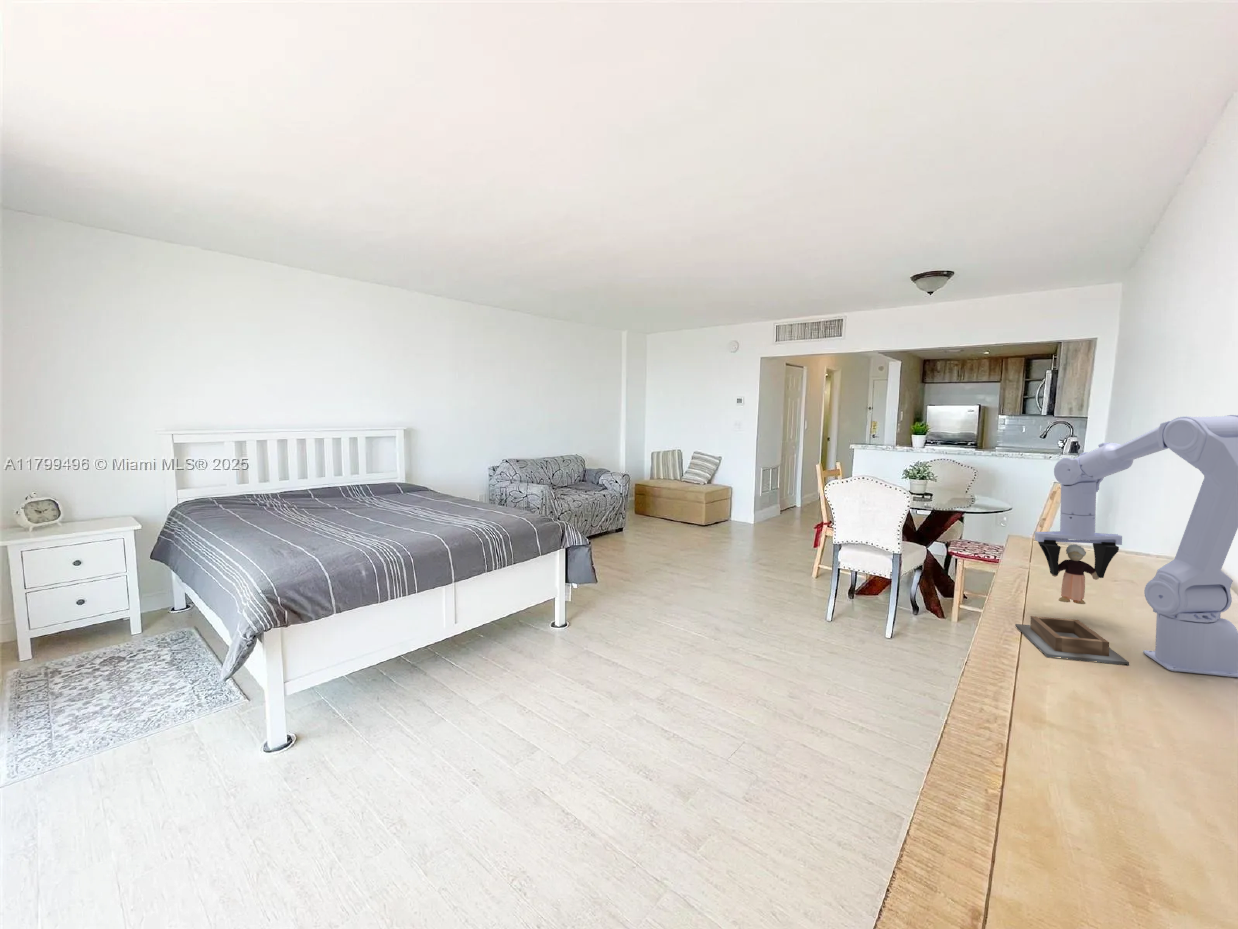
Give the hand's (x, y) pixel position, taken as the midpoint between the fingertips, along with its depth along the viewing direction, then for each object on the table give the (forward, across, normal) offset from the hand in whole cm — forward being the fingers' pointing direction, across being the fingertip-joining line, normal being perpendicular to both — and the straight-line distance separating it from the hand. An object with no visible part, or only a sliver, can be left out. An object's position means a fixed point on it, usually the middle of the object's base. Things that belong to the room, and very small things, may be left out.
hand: (1076, 575), depth 114 cm
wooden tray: (+10, +7, +15) cm, 19 cm away
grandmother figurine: (+6, 0, 0) cm, 6 cm away
